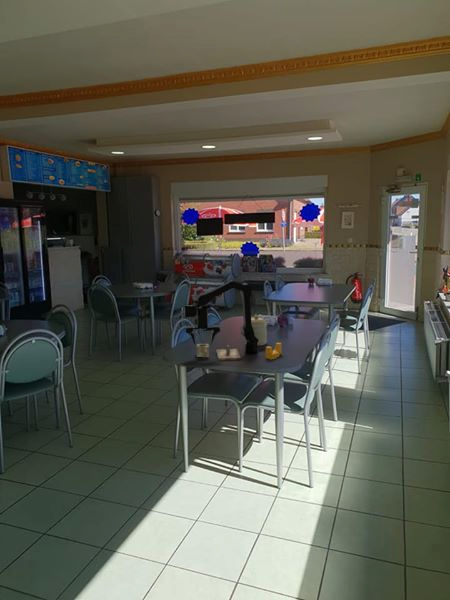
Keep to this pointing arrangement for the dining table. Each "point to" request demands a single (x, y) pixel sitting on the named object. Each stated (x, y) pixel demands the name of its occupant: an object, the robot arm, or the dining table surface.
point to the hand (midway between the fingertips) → (203, 344)
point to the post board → (228, 354)
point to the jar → (259, 329)
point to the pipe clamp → (275, 352)
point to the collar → (202, 350)
